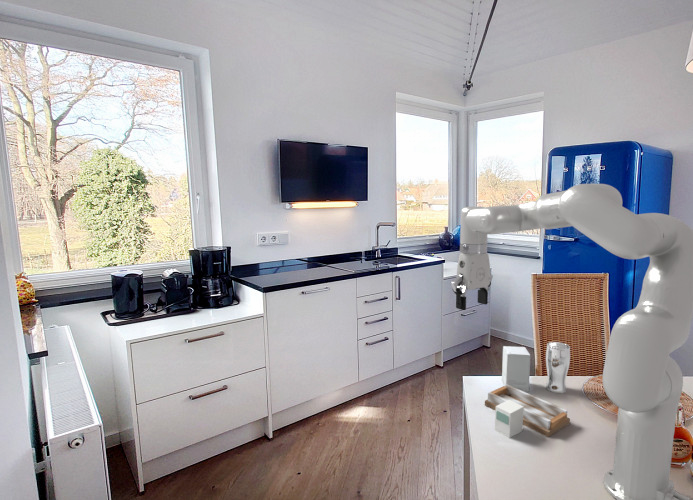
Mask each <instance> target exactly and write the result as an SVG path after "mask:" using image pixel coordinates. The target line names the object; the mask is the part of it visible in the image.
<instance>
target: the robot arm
mask: <svg viewBox="0 0 693 500" xmlns="http://www.w3.org/2000/svg"><path fill="white" fill-rule="evenodd" d="M570 227H573V228H574V229H576V230H577V231H579V232H580V233H581V234H583V235H585V236H586V237H587V238H589V239H590V240H591V241H593V242H595V244H597V245H599V246H600V247H602V248H603V249H605V250H606V251H608V252H609V253H611V254H613V255H615V256H617V257H618V258H622V259H627V260H639V259H644V258H648V257H649V265H648V267H647V270H646V271H645V275H644V277H643V280H642V286H641V291H640V296H639V299H638V302H637V305H636V307H634V308H632V309H630V310H628V311H626V312H624V313H623V314H621V316H619V317H618V318H617V320H616V321H615V323H614V324H613V327H612V329H611V332H610V336H609V342H608V346H607V350H606V355H605V361H604V366H603V371H602V385H603V386H602V387H603V390H604V392H605V394H606V396H607V398H608V399H609V401H611V402H612V404H613V405H615V406H616V407H617V408H618V411H617V421H616V431H615V432H616V433H615V434H616V435H615V447H614V457H613V459H614V460H613V469H610V470H609V471H606V473H605V474H604V477H603V483H604V486H605V489H606V490H607V491H608V493H609V494H610V496H612V497H614V498H615V499H616V500H691V498H690V497H688V496H686V495H685V494H684V495H683V494H681V493H678V492H677V490H676V489H674V485H675V482H674V481H672V480H671V479H670V473H671V466H672V465H671V464H672V458H673V457H672V456H673V448H674V447H673V446H674V445H673V444H674V435H675V428H676V420H677V415H678V408H679V405H680V400H681V395H682V392H683V386H684V377H683V373H682V370H681V367H680V366H679V364H678V363H677V362H676V360H675V359H673V358H672V357H671V356H670V354H671V353H672V352H674V351H676V350H677V349H679V348H680V347H682V346H683V345H684V344H685V343H686V342H687V341H688V338H689V336H690V331H691V327H692V326H691V325H692V320H693V228H692V227H690V226H689V224H687V223H685V222H684V221H682V220H681V219H679V218H677V217H675V216H672V215H669V214H665V213H660V212H659V213H658V212H647V213H646V212H645V213H639V214H636V213H635V212H633V211H632V210H630V209H628V208H626V207H624V206H623V197H622V194H621V192H620V191H619V190H618V189H617V188H616V187H614V186H612V185H610V184H606V183H579V184H576V185H574V186H571V187H569V188H568V189H567V190H563V191H556V192H551V193H545V194H543V195H541V196H540V197H538V199H537V200H535V201H530V202H526V203H520V204H514V205H497V206H464V207H463V208H461V211H460V232H459V233H460V234H459V235H460V236H459V237H460V238H459V239H460V240H459V255H458V261H457V265H456V277H455V278H454V279H453V280H451V282H450V285H451V288H452V292H454V295H455V308H456V309H458V310H461V311H466V310H467V296H466V294H467V292H468V291H473V290H477V303H478V304H481V305H488V303H489V302H488V299H489V297H488V296H489V291H490V286H491V285H492V280H493V278H494V277H493V276H494V275H493V274H491V266H490V265H491V264H490V256H489V253H488V235H498V234H499V235H501V234H508V233H510V234H511V233H517V232H525V231H531V230H539V229H544V230H553V229H562V228H570Z"/></svg>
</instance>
